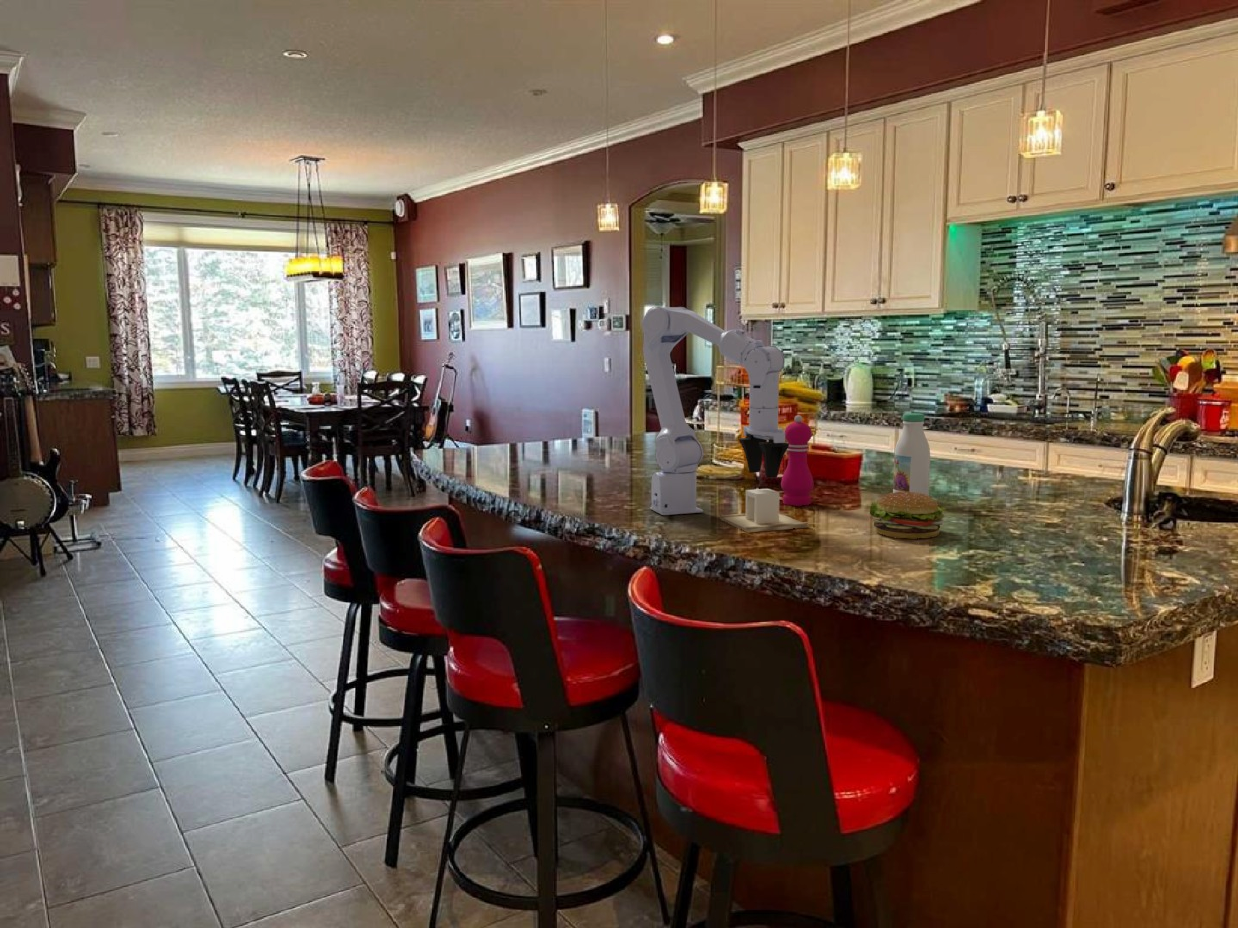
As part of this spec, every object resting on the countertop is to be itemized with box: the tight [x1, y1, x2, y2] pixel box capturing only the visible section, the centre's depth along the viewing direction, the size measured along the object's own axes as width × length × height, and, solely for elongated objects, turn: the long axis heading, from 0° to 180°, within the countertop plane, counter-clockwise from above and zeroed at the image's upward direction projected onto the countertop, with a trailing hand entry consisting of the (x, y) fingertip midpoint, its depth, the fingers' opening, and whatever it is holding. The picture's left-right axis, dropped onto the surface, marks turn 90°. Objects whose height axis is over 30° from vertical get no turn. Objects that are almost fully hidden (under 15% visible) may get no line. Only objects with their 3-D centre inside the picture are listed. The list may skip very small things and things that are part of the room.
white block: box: [744, 488, 780, 524], centre depth 179 cm, size 5×5×6 cm
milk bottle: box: [892, 412, 931, 496], centre depth 200 cm, size 8×8×20 cm
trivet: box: [719, 512, 808, 533], centre depth 179 cm, size 13×13×1 cm
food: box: [869, 491, 947, 540], centre depth 169 cm, size 14×14×8 cm
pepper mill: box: [780, 415, 814, 507], centre depth 199 cm, size 7×7×20 cm
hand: (762, 474), depth 178 cm, fingers open, 7 cm apart
